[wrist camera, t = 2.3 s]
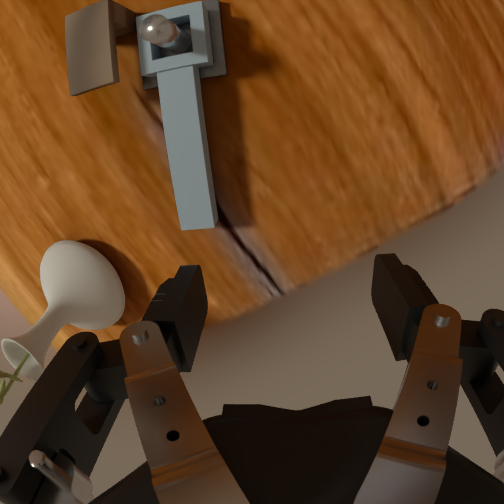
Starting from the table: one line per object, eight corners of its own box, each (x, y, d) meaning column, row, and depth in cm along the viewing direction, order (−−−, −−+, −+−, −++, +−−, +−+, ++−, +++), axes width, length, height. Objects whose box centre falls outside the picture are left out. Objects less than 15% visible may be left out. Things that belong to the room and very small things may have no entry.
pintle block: (219, 1, 19) (202, -28, 13) (227, 75, 22) (212, 65, 16) (140, 19, 20) (103, 0, 14) (147, 89, 23) (110, 88, 17)
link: (146, 22, 19) (136, 17, 17) (207, 8, 19) (201, 0, 17) (174, 222, 27) (167, 232, 25) (231, 217, 27) (228, 227, 25)
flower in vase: (87, 214, 29) (-94, 393, 6) (150, 299, 33) (51, 516, 10) (29, 265, 32) (-93, 404, 10) (83, 333, 36) (-4, 488, 14)
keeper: (134, 12, 20) (107, -2, 15) (141, 83, 23) (113, 81, 18) (96, 25, 20) (65, 16, 15) (102, 94, 23) (70, 96, 19)
